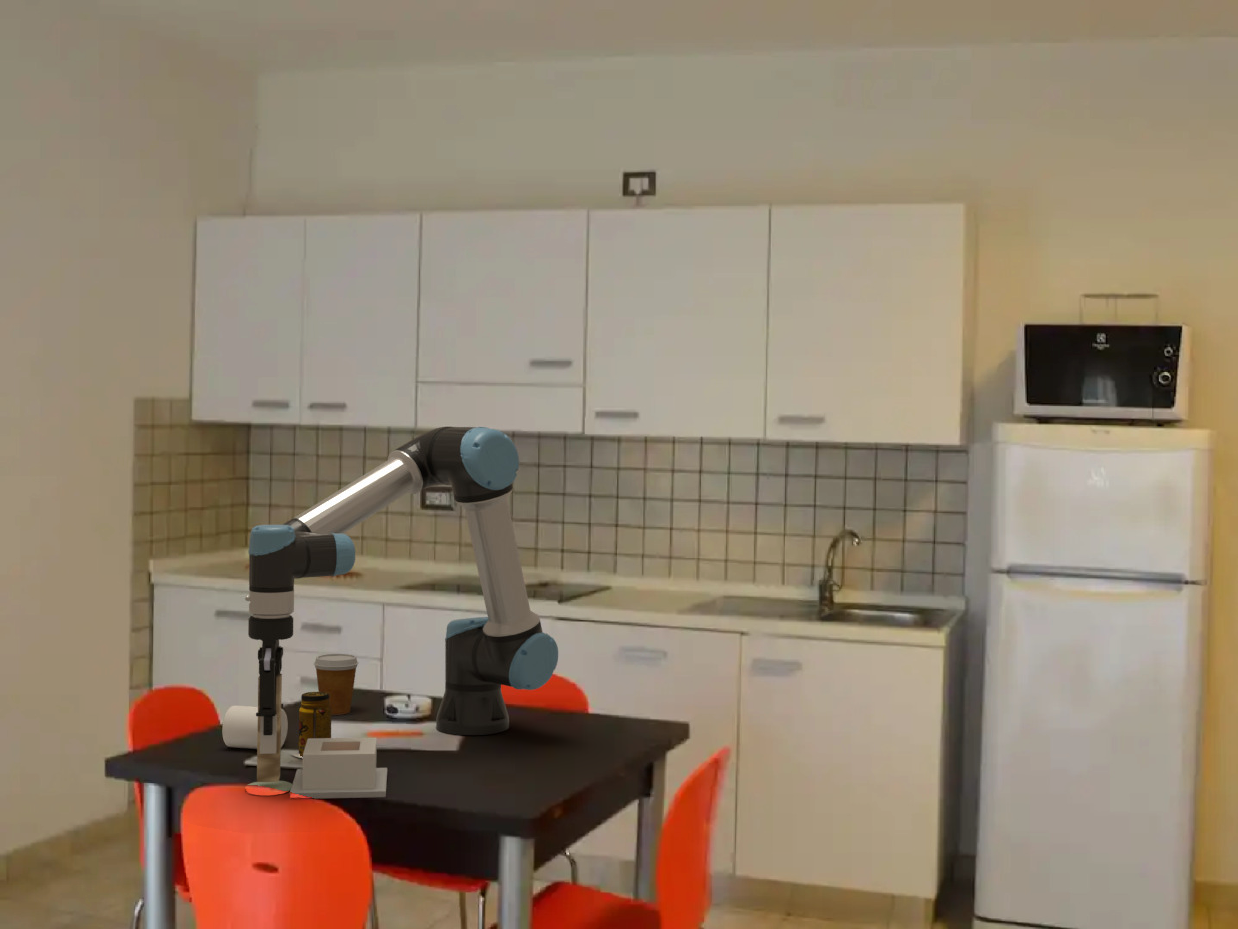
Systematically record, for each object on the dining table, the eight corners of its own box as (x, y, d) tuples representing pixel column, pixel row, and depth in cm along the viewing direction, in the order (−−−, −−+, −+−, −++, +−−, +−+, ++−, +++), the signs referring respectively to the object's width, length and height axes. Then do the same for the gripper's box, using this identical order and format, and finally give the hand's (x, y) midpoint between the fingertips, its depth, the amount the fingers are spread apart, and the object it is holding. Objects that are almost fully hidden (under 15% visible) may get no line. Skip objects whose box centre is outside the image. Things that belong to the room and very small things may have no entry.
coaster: (294, 783, 248) (294, 780, 248) (290, 795, 240) (290, 792, 240) (247, 784, 247) (247, 780, 247) (242, 796, 239) (242, 793, 239)
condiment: (289, 755, 268) (290, 693, 267) (328, 749, 274) (329, 687, 273) (309, 763, 262) (310, 699, 262) (348, 756, 268) (349, 693, 268)
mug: (269, 755, 268) (270, 713, 268) (221, 751, 270) (222, 709, 270) (296, 740, 280) (297, 701, 280) (250, 737, 282) (250, 697, 282)
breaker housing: (387, 773, 256) (387, 735, 256) (385, 797, 240) (386, 756, 240) (297, 774, 254) (297, 736, 253) (289, 799, 238) (290, 757, 238)
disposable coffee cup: (364, 709, 310) (365, 655, 310) (346, 718, 301) (347, 662, 300) (324, 706, 312) (325, 652, 312) (305, 715, 303) (306, 659, 303)
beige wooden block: (280, 776, 245) (281, 673, 245) (278, 781, 242) (279, 677, 241) (259, 776, 245) (260, 673, 244) (256, 782, 241) (258, 677, 240)
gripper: (254, 608, 250) (252, 739, 251) (242, 622, 233) (241, 762, 234) (297, 608, 251) (295, 738, 252) (289, 622, 234) (287, 761, 235)
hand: (269, 749), depth 243 cm, fingers closed on beige wooden block, 4 cm apart
